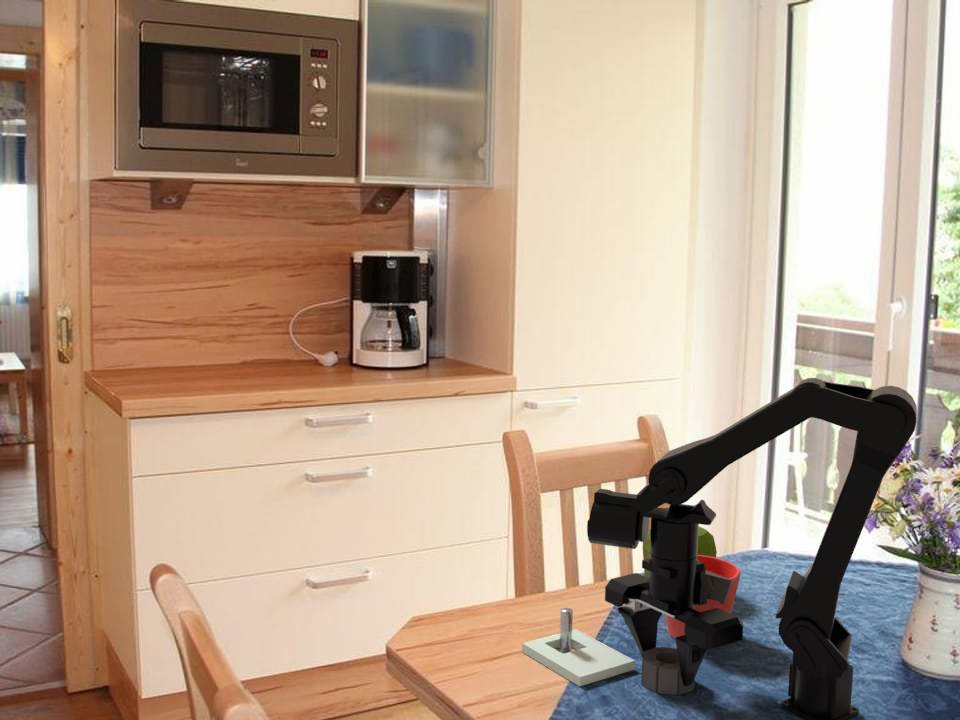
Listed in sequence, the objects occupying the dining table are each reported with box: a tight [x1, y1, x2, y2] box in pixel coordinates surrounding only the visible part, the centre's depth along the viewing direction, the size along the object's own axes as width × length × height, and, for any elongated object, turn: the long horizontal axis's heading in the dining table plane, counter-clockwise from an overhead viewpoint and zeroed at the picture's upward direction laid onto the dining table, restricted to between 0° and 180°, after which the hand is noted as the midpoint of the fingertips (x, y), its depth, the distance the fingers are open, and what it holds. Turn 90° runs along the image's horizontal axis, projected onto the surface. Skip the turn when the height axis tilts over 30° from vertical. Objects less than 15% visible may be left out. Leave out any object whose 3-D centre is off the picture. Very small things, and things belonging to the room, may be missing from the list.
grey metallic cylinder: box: [558, 607, 574, 654], centre depth 139 cm, size 2×2×6 cm
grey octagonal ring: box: [640, 646, 696, 696], centre depth 131 cm, size 6×6×3 cm
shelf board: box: [521, 628, 636, 687], centre depth 138 cm, size 12×9×1 cm
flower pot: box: [664, 555, 741, 639], centre depth 146 cm, size 11×11×10 cm
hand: (668, 674), depth 131 cm, fingers closed on grey octagonal ring, 6 cm apart
